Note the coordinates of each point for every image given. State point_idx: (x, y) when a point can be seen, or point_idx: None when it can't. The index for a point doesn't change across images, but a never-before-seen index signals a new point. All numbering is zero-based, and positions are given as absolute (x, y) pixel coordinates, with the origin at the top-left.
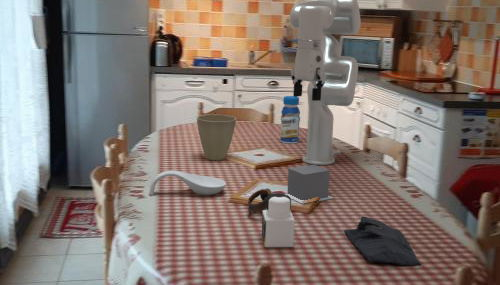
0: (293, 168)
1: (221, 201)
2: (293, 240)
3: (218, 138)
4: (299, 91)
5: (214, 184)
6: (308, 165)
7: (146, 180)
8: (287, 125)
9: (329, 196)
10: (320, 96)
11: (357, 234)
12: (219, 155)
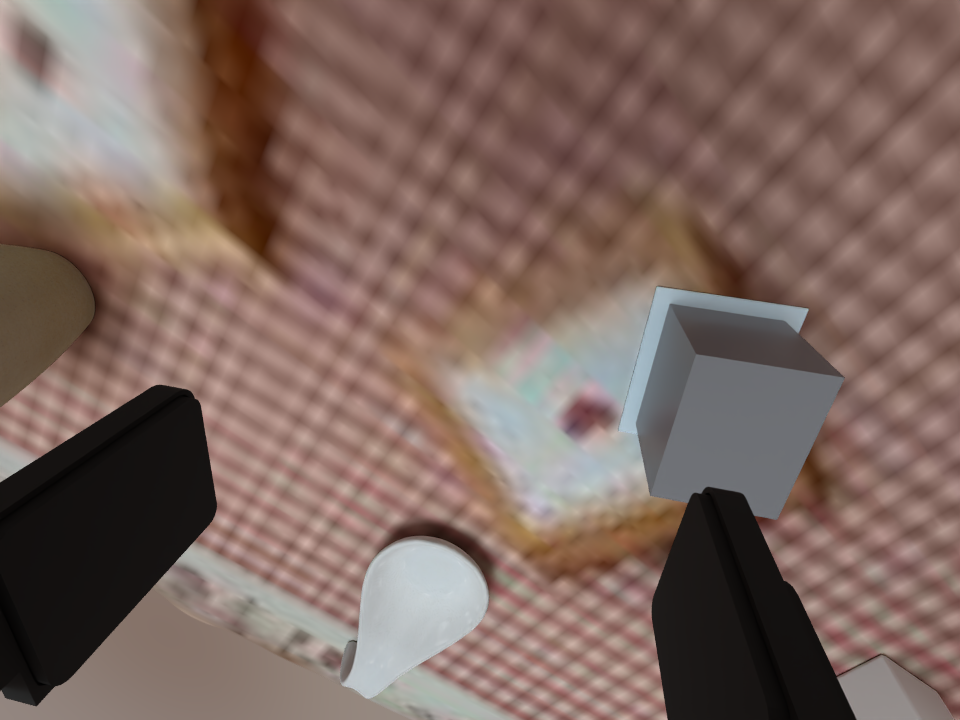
0: (668, 481)
1: (531, 589)
2: (948, 710)
3: (22, 373)
4: (145, 494)
5: (415, 546)
6: (688, 391)
7: (253, 600)
8: None
9: (785, 311)
10: (757, 542)
11: None
12: (82, 315)
